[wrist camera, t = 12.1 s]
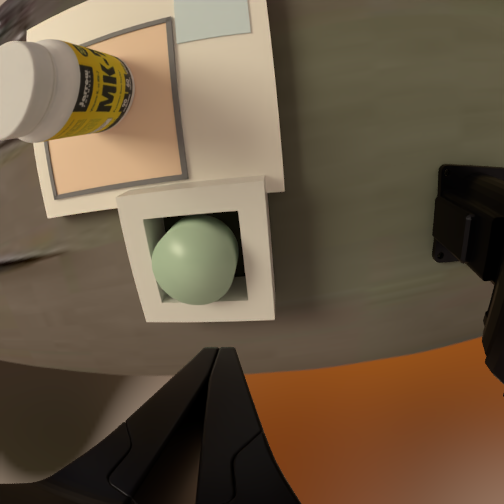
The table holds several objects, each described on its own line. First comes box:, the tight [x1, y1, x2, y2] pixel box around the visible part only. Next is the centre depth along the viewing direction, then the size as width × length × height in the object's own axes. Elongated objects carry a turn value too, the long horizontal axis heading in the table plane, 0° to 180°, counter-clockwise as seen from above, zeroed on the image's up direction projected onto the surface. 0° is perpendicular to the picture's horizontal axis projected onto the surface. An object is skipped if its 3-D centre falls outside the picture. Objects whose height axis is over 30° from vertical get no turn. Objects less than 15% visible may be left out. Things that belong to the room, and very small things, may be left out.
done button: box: [152, 214, 239, 305], centre depth 18 cm, size 4×4×2 cm
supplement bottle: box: [0, 39, 135, 143], centre depth 12 cm, size 5×5×8 cm
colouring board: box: [27, 0, 285, 218], centre depth 16 cm, size 16×14×1 cm
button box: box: [116, 175, 275, 322], centre depth 19 cm, size 8×8×3 cm
